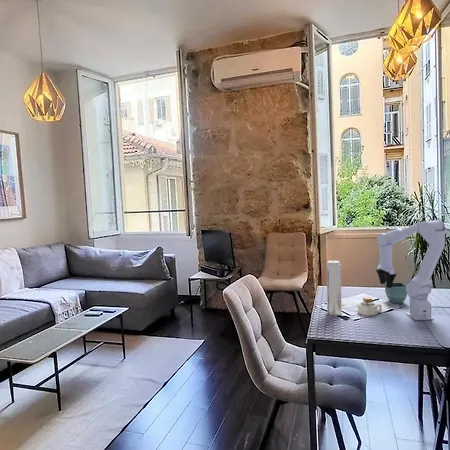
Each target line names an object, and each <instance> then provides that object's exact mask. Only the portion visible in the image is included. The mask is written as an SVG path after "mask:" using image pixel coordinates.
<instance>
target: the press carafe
mask: <svg viewBox="0 0 450 450" xmlns="http://www.w3.org/2000/svg"><path fill="white" fill-rule="evenodd" d="M362 303H365V302H364V301H361V302H359V303H357V312H358V313H359V314H360V315H364V316H375V315H377V314H378V313H380V312H381V313H382V312H383V309H382V308H383V307H382V304H381V303H379V304H377V303H376V302H372V304H373V306H363V305H362Z"/></svg>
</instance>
